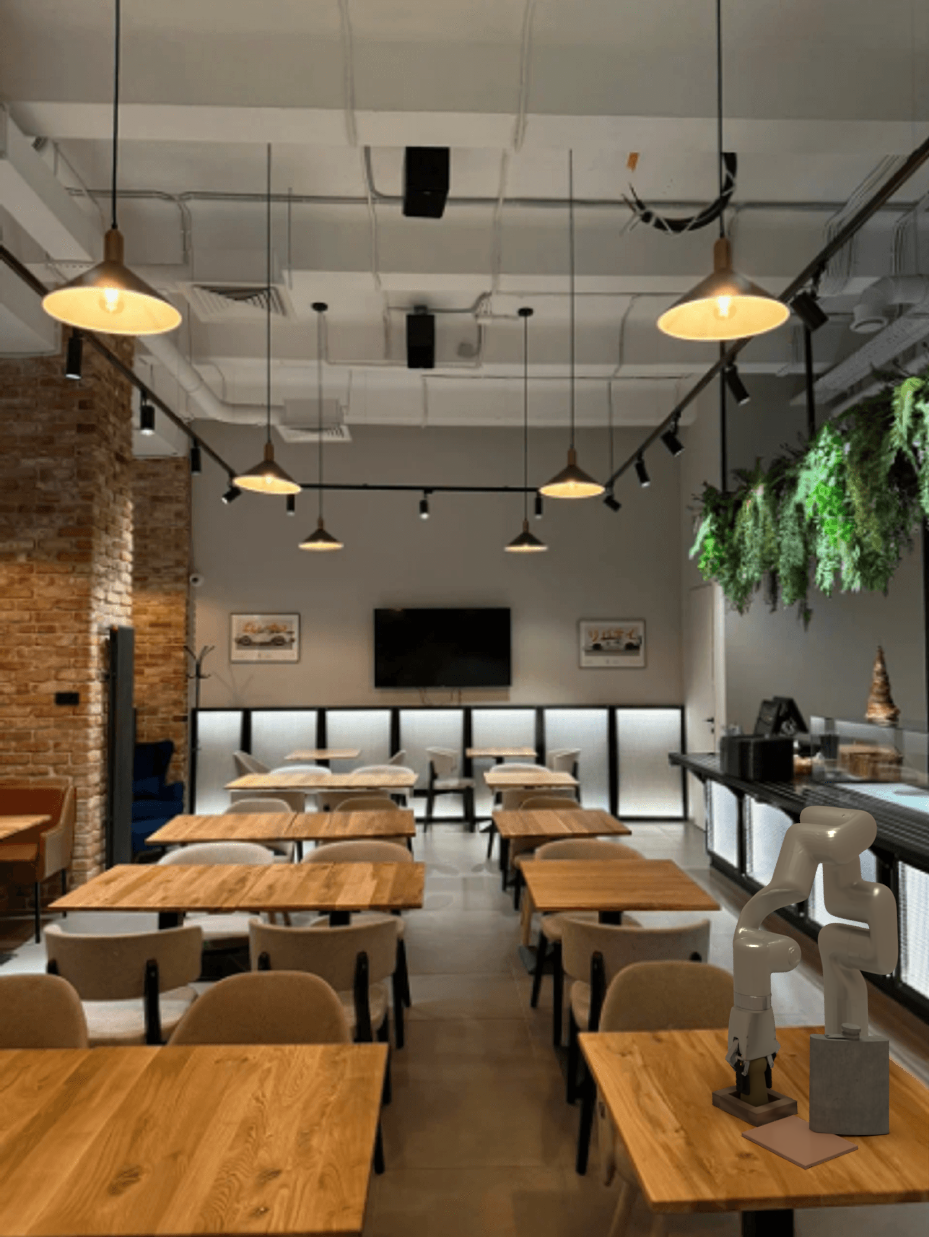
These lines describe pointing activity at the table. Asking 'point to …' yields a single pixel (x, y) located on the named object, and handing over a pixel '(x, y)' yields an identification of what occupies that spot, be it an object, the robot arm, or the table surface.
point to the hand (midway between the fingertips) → (754, 1088)
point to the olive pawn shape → (756, 1083)
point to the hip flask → (849, 1083)
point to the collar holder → (756, 1116)
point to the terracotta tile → (799, 1142)
